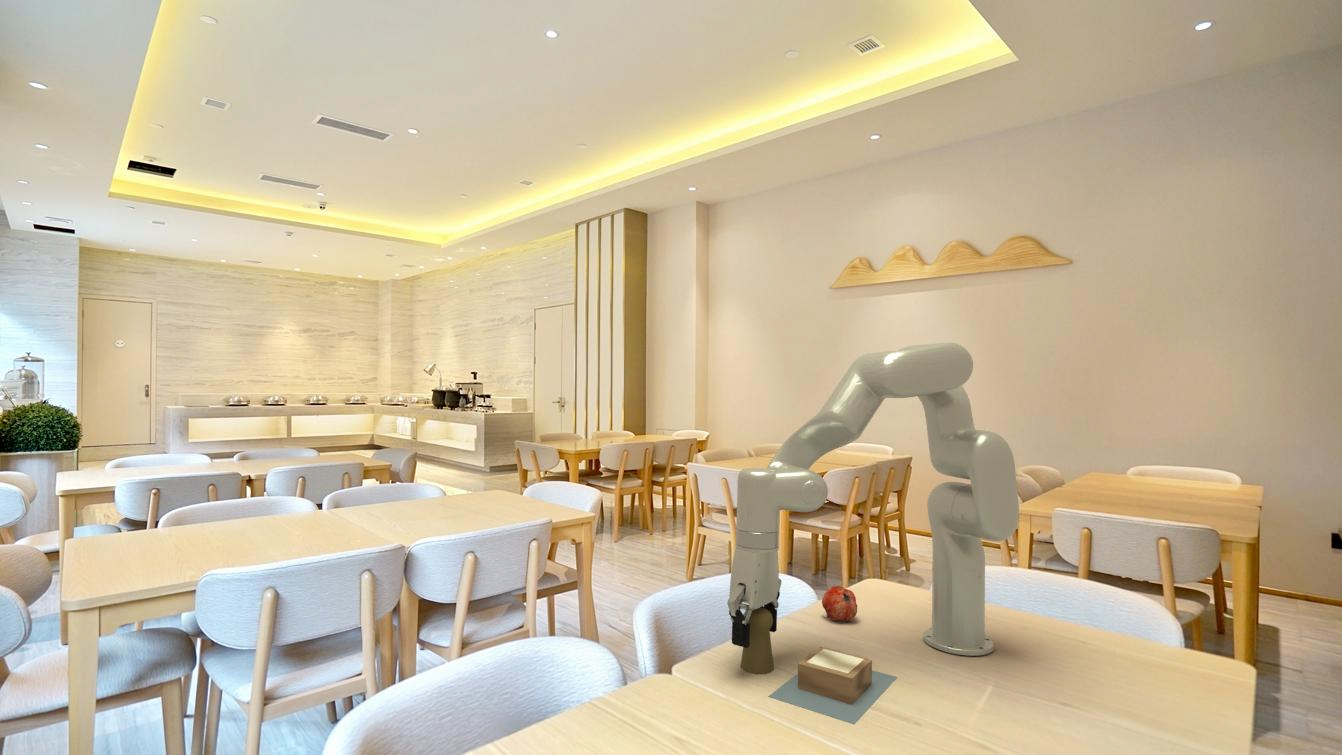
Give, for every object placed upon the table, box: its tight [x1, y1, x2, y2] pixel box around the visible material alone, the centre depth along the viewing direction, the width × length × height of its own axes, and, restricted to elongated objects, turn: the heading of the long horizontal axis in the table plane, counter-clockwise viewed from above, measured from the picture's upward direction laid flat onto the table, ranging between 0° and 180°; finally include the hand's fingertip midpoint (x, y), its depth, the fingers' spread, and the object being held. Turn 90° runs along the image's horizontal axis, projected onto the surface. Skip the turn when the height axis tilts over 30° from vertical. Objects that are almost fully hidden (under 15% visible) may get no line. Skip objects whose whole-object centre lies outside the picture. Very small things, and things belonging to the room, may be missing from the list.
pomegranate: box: [821, 585, 858, 622], centre depth 143 cm, size 7×7×10 cm
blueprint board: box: [767, 669, 898, 725], centre depth 107 cm, size 20×14×1 cm
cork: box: [740, 608, 775, 675], centre depth 115 cm, size 6×6×11 cm
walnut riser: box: [797, 646, 873, 705], centre depth 107 cm, size 9×9×4 cm
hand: (754, 637), depth 115 cm, fingers open, 9 cm apart
